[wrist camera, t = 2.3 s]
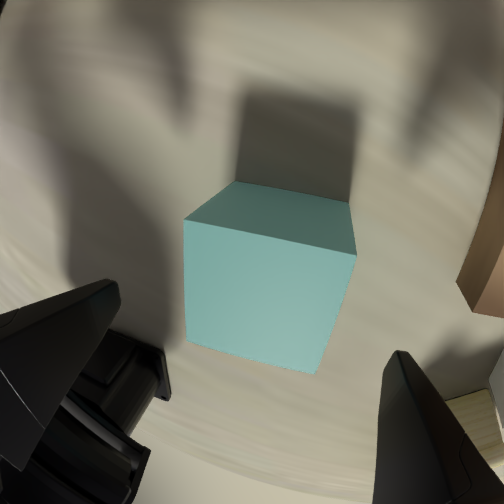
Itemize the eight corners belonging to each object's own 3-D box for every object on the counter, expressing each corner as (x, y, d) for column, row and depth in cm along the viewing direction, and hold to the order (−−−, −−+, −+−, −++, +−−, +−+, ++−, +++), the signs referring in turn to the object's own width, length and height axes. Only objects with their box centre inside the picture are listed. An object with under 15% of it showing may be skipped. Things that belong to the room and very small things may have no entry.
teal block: (323, 298, 14) (314, 374, 10) (227, 276, 15) (186, 341, 11) (348, 202, 12) (357, 255, 8) (235, 180, 13) (183, 219, 8)
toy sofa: (451, 474, 21) (451, 541, 12) (386, 487, 24) (379, 555, 16) (492, 379, 14) (519, 500, 5) (384, 406, 17) (378, 539, 8)
